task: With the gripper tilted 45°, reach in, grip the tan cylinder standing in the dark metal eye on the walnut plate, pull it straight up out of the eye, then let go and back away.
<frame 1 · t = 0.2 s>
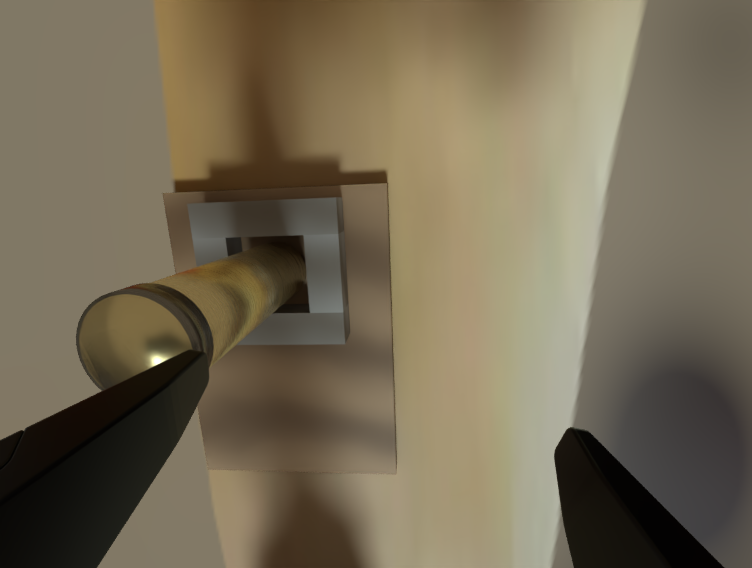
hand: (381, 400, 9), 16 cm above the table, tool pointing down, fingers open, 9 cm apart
tan cylinder: (232, 296, 17), point 8 cm above the table, slide at 0.0 cm
walnut eye plate: (284, 266, 25), on the table
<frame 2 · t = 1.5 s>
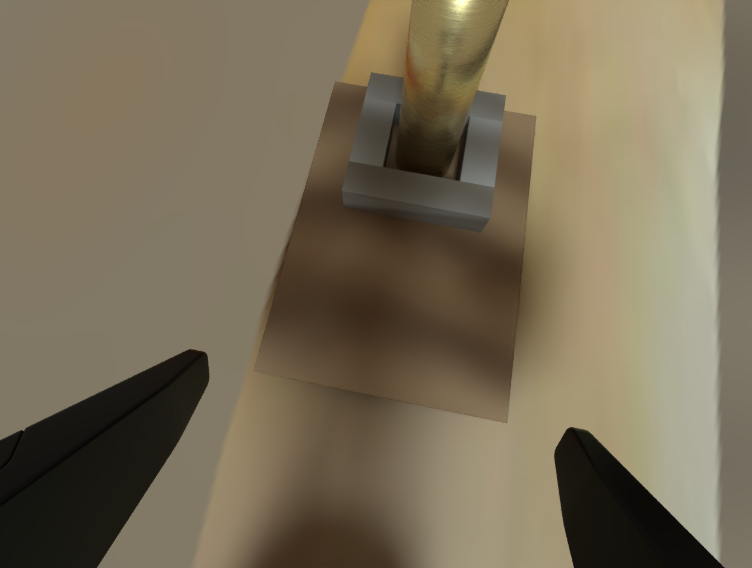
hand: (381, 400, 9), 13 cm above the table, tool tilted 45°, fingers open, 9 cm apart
tan cylinder: (441, 78, 18), point 8 cm above the table, slide at 0.0 cm
walnut eye plate: (420, 169, 25), on the table
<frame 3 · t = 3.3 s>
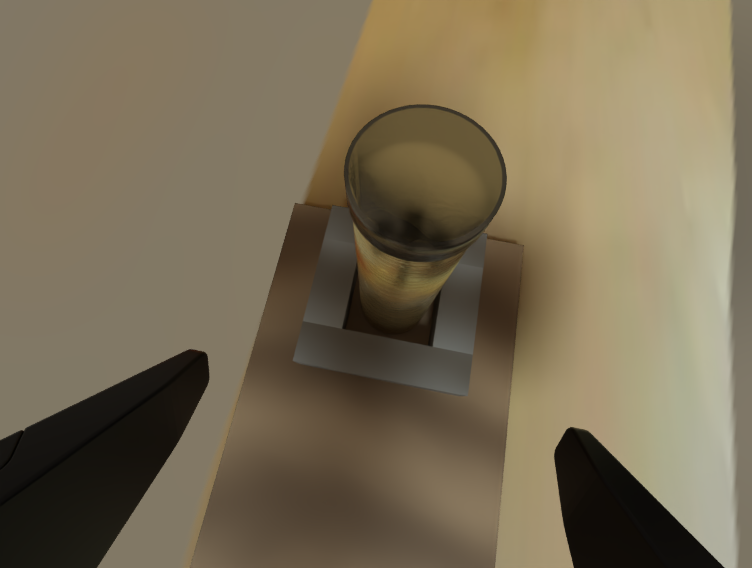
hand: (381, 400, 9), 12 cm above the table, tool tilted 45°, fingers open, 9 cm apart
tan cylinder: (402, 263, 15), point 8 cm above the table, slide at 0.0 cm
walnut eye plate: (392, 307, 22), on the table
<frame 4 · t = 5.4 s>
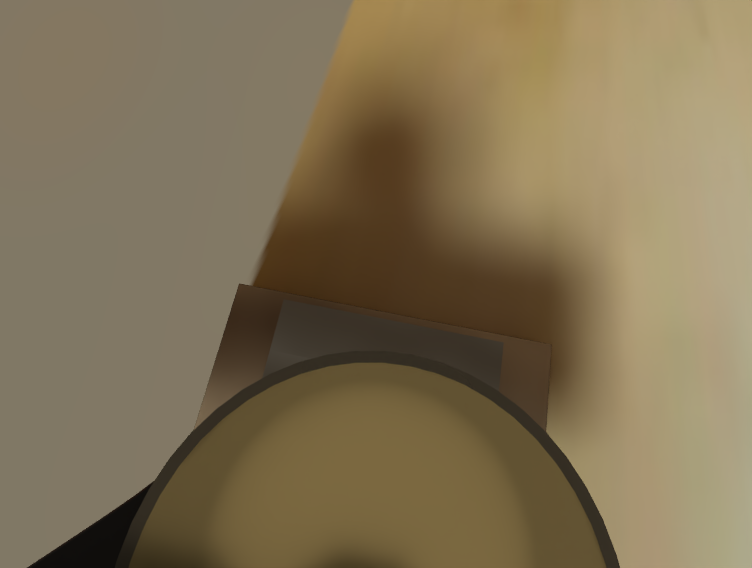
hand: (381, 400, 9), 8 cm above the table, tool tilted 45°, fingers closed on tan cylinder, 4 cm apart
tan cylinder: (370, 461, 9), point 8 cm above the table, slide at 0.0 cm, touching gripper
walnut eye plate: (370, 430, 16), on the table
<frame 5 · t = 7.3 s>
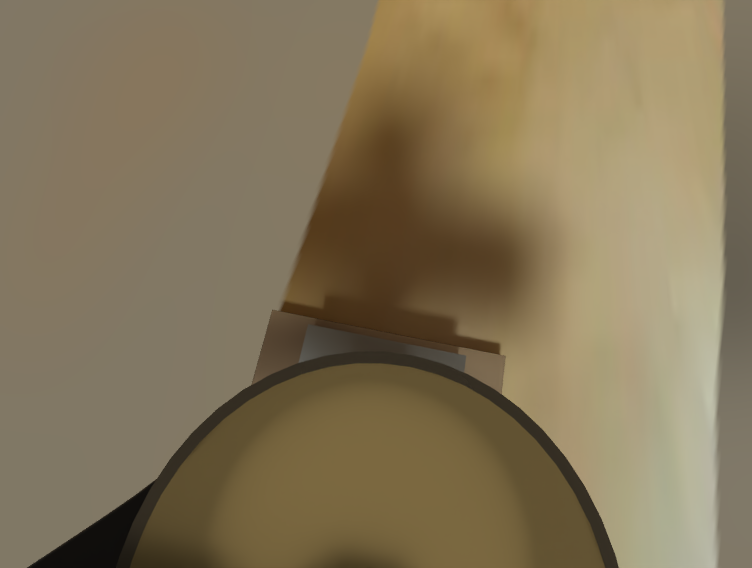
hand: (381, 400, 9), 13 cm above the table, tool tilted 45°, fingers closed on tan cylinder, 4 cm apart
tan cylinder: (370, 460, 9), point 13 cm above the table, slide at 5.8 cm, touching gripper
walnut eye plate: (370, 419, 22), on the table
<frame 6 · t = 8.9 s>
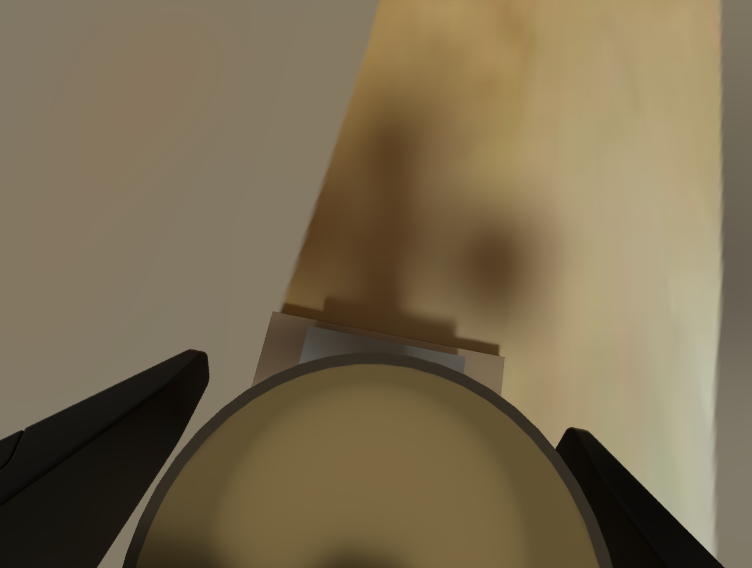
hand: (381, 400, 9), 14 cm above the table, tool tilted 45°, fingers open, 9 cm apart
tan cylinder: (370, 461, 9), point 14 cm above the table, slide at 5.9 cm
walnut eye plate: (370, 420, 22), on the table
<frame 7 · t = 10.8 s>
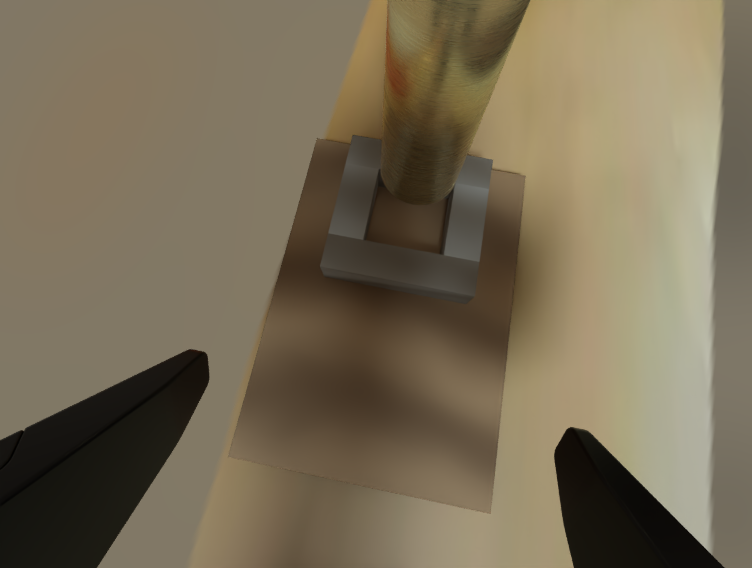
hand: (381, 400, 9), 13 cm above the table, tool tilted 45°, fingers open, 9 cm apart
tan cylinder: (444, 54, 11), point 14 cm above the table, slide at 5.9 cm
walnut eye plate: (405, 231, 25), on the table
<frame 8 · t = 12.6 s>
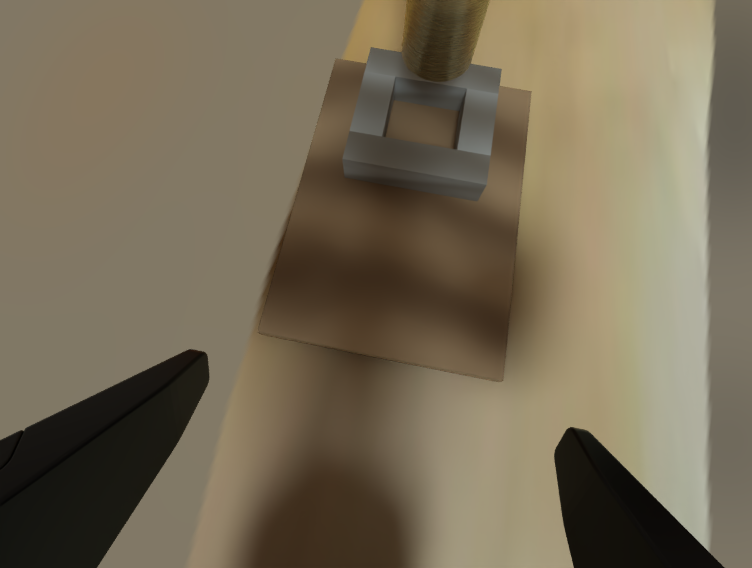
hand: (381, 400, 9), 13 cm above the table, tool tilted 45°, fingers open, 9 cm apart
walnut eye plate: (419, 143, 26), on the table
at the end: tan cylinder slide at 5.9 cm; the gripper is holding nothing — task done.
